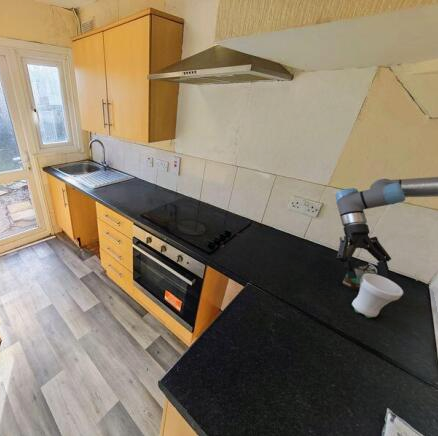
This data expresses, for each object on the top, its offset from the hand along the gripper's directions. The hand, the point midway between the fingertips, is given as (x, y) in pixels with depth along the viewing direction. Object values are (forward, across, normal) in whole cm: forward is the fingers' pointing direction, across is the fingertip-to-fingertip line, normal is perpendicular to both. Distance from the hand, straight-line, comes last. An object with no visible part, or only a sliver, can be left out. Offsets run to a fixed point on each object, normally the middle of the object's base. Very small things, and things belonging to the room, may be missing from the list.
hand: (369, 278), depth 86 cm
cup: (+12, 0, -6) cm, 13 cm away
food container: (+3, -9, -15) cm, 18 cm away
